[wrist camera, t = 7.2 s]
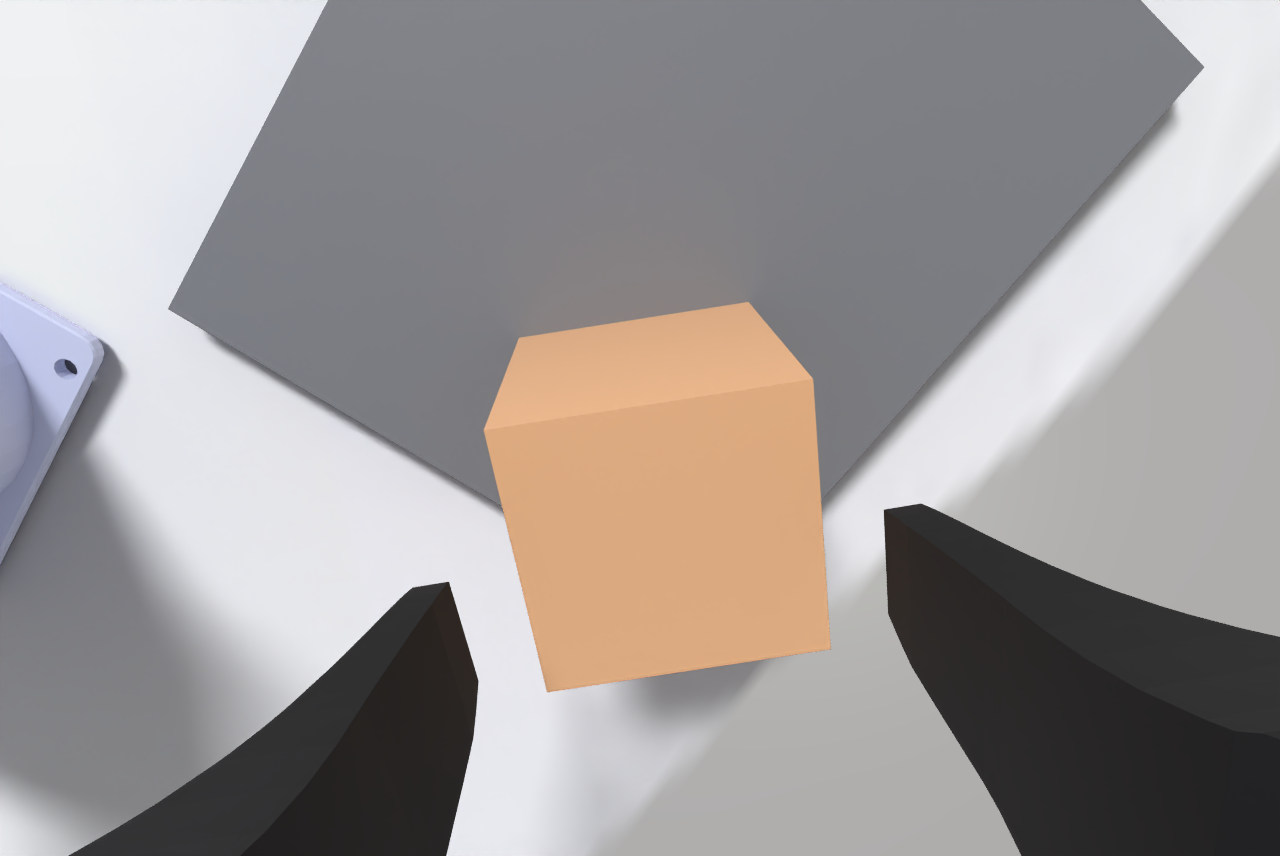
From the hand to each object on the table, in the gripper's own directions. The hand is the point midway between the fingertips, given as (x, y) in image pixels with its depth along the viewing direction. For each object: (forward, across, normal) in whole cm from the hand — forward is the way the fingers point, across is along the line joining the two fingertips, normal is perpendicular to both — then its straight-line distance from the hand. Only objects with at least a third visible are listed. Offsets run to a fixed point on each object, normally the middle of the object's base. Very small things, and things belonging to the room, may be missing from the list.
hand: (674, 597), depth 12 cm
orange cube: (+8, 0, 0) cm, 8 cm away
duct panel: (+8, -2, -6) cm, 10 cm away
